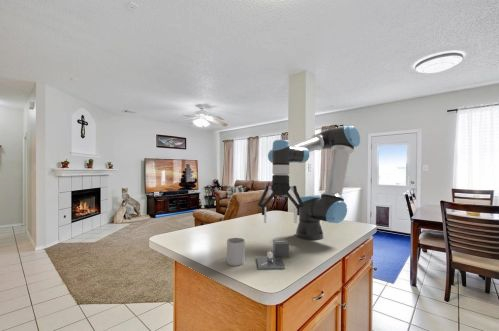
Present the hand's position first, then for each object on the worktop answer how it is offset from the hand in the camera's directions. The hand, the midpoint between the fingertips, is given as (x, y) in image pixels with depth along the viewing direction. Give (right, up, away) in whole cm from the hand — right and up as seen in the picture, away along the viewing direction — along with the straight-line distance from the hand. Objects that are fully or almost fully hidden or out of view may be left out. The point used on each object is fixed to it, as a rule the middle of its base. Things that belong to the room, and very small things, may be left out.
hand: (280, 222), depth 100 cm
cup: (-20, -14, -7) cm, 25 cm away
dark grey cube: (0, -14, 0) cm, 14 cm away
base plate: (-5, -14, -9) cm, 18 cm away
